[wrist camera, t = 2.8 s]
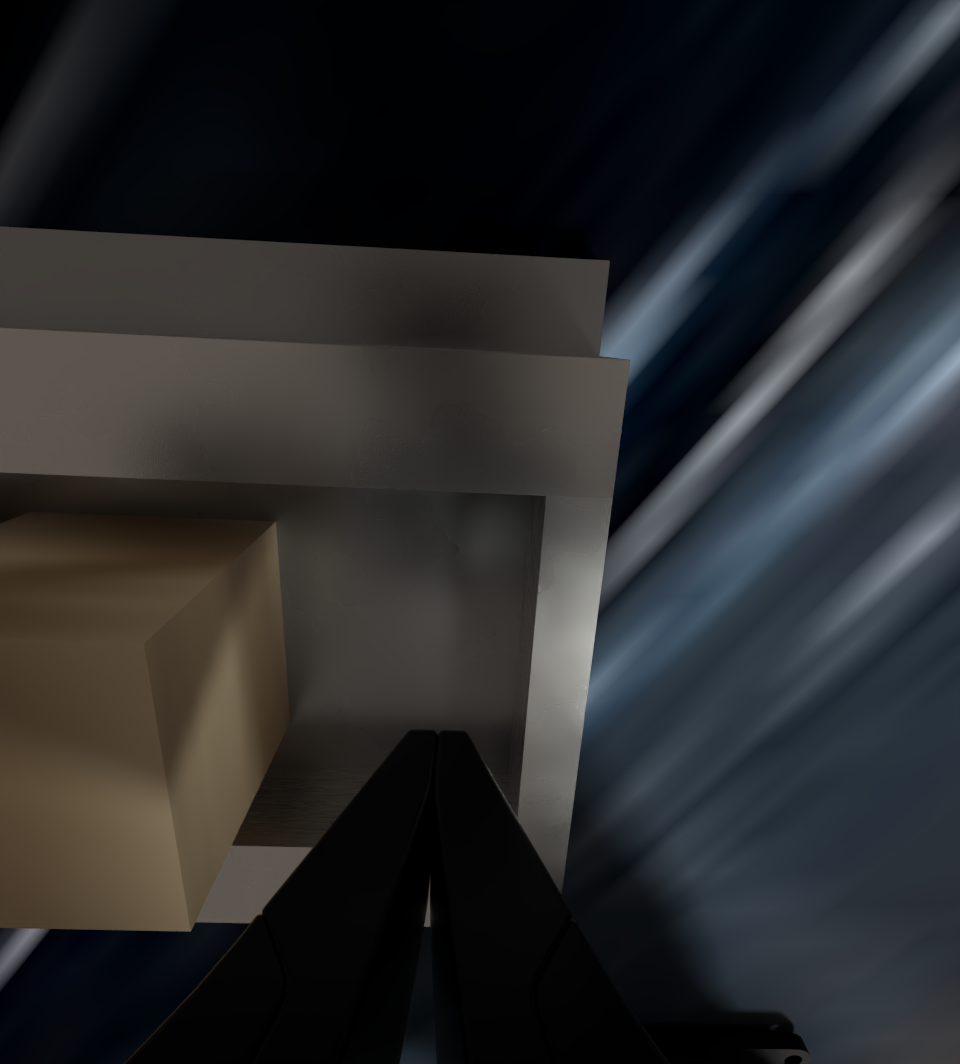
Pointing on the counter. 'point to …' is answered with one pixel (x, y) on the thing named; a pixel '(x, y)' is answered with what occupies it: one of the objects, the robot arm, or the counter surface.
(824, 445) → the counter surface
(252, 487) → the rail board
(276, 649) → the chip
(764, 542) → the counter surface
